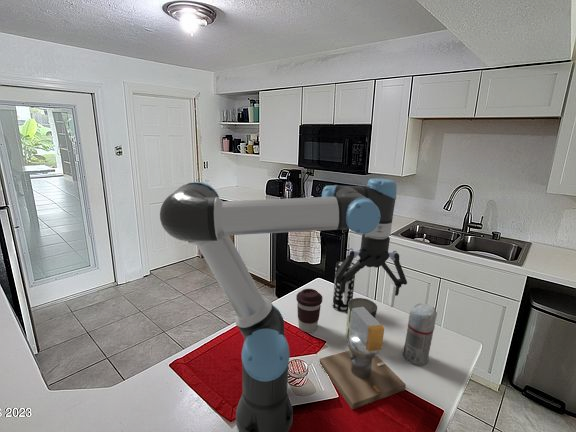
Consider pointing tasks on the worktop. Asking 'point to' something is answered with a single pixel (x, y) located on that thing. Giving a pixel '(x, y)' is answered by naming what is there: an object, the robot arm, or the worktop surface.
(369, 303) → the coffee can
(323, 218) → the robot arm
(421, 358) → the spray can
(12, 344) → the worktop surface
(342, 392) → the base
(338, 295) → the white-spotted black cylinder
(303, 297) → the coffee cup
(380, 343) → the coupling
